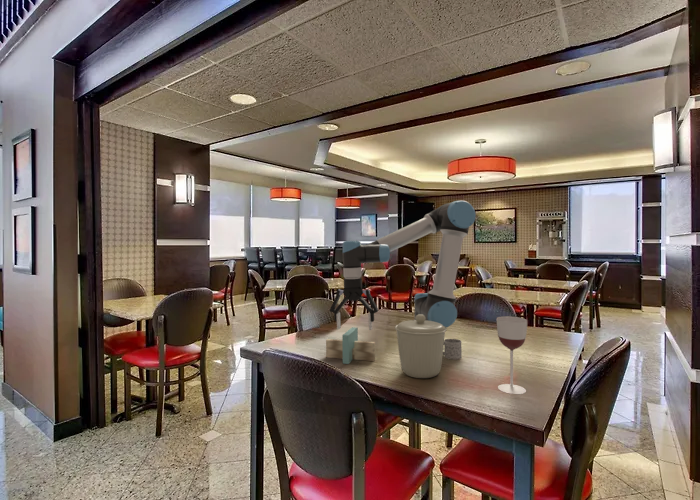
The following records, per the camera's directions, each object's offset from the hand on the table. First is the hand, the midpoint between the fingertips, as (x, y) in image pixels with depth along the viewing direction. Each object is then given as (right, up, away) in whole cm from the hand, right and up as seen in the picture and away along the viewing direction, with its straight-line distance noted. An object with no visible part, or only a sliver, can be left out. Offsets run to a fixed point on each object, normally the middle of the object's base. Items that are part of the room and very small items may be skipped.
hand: (354, 329), depth 157 cm
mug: (+38, -11, -3) cm, 40 cm away
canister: (+23, -11, -23) cm, 34 cm away
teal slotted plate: (-2, -11, -4) cm, 12 cm away
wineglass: (+49, -11, -37) cm, 63 cm away
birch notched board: (-2, -11, -4) cm, 12 cm away
